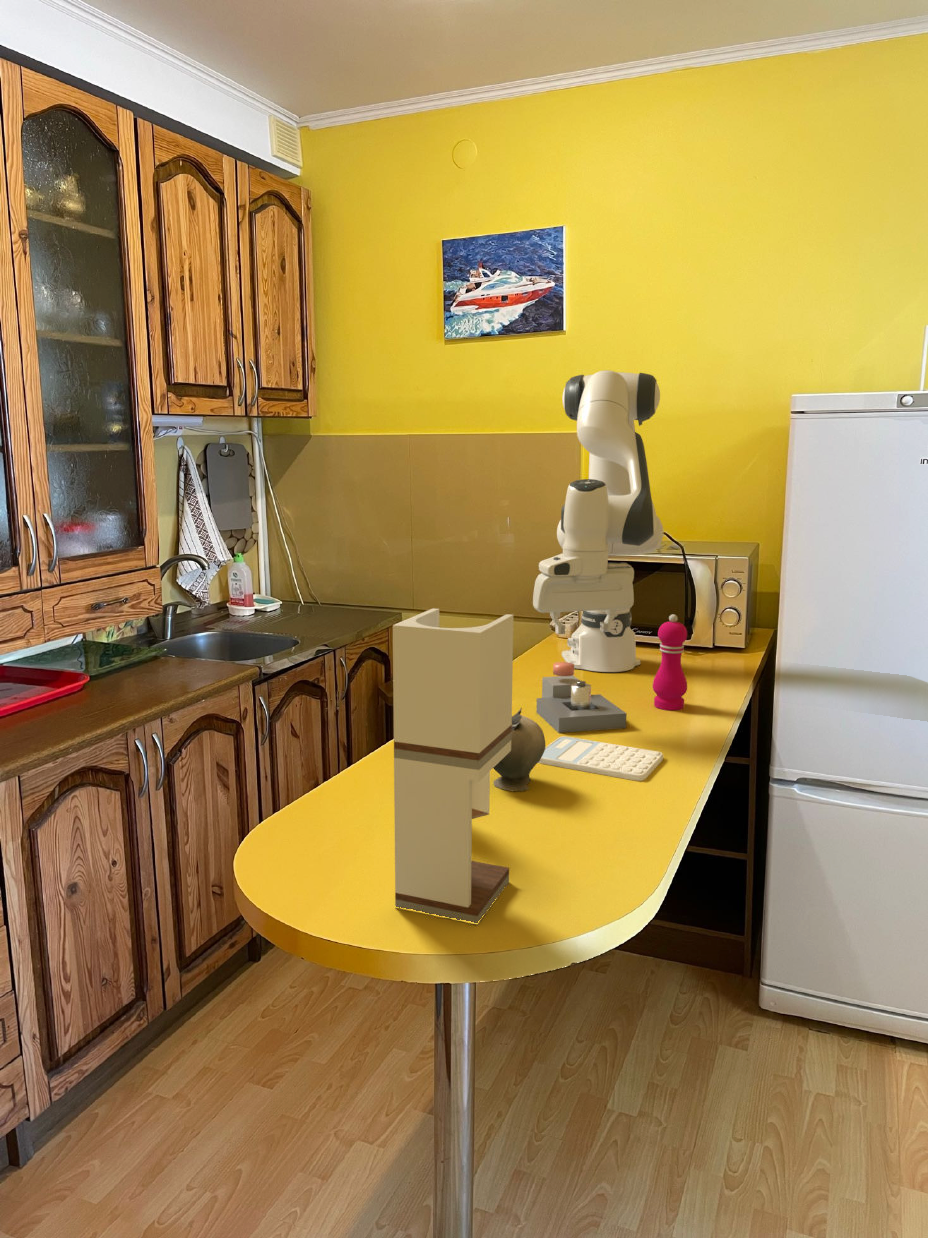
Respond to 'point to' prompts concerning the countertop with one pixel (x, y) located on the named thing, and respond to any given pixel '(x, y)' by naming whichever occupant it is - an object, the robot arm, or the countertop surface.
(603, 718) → the grey stepped block frame
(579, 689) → the cell
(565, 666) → the plunger
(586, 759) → the calculator
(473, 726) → the beige stacked box tower
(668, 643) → the pepper mill
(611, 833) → the countertop surface
